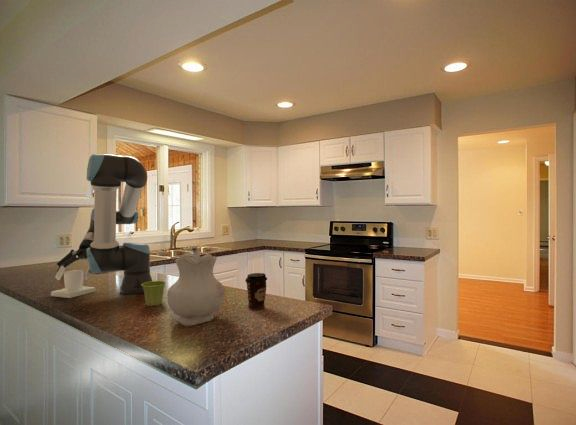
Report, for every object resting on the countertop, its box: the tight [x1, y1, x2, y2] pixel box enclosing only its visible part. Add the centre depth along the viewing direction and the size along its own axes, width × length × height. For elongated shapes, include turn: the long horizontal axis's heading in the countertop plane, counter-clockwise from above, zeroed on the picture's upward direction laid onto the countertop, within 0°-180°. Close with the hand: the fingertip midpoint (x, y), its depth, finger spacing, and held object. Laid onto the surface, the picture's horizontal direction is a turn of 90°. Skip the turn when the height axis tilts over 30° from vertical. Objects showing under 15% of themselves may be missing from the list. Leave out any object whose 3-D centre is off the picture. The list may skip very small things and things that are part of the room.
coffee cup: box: [244, 272, 268, 311], centre depth 128 cm, size 9×8×13 cm
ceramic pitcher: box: [166, 246, 226, 327], centre depth 117 cm, size 22×20×25 cm
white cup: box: [63, 269, 84, 293], centre depth 157 cm, size 8×8×10 cm
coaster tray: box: [50, 285, 96, 299], centre depth 157 cm, size 13×13×2 cm
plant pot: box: [141, 280, 167, 307], centre depth 136 cm, size 9×9×9 cm
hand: (71, 278), depth 156 cm, fingers open, 13 cm apart
